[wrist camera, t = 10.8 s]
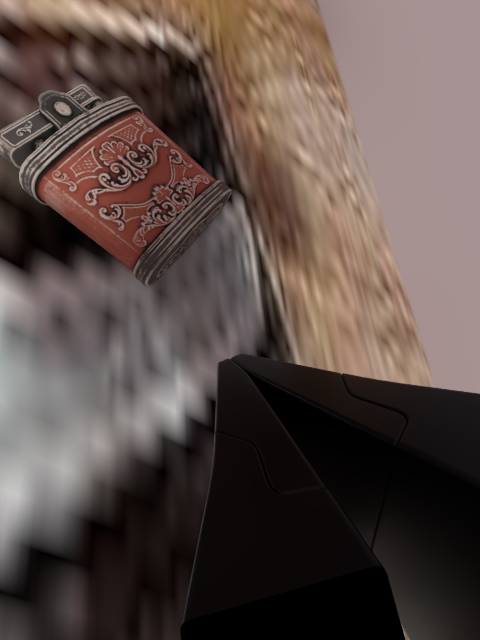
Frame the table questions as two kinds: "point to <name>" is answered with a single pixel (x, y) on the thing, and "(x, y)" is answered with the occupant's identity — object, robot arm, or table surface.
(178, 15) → the table surface
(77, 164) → the lighter
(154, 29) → the table surface
